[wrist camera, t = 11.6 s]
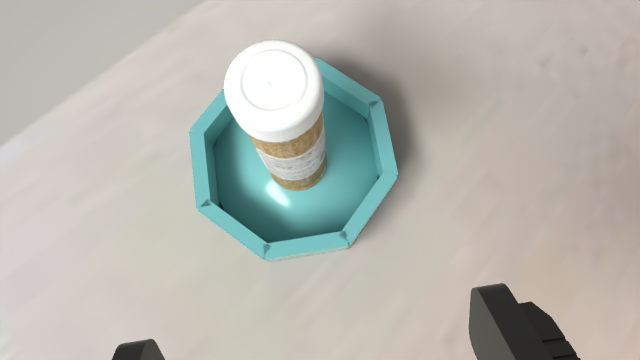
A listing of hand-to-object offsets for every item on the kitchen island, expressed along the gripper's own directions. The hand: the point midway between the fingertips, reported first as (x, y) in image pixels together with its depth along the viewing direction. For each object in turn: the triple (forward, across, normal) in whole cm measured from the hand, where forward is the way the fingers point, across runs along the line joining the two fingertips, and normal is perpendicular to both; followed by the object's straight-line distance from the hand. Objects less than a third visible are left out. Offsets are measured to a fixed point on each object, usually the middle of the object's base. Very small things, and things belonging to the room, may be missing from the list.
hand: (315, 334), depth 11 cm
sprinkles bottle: (+21, +1, +7) cm, 22 cm away
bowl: (+22, +1, +7) cm, 23 cm away
